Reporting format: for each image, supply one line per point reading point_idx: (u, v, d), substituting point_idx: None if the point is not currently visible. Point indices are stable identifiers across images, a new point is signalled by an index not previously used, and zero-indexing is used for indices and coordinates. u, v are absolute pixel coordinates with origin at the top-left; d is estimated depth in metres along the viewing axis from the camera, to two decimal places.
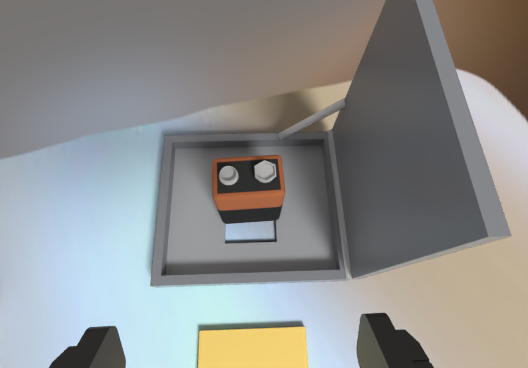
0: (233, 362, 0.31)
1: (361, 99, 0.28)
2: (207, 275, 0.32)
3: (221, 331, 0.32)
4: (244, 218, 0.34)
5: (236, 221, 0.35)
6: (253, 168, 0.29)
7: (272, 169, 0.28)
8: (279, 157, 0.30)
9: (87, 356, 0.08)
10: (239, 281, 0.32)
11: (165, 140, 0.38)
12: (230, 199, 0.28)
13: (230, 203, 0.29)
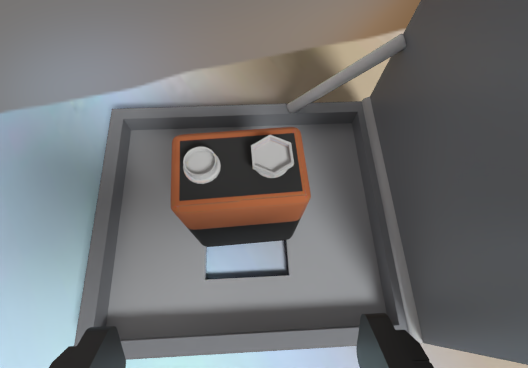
0: None
1: (456, 13, 0.14)
2: (172, 340, 0.19)
3: None
4: (235, 239, 0.21)
5: (223, 243, 0.22)
6: (249, 152, 0.15)
7: (285, 152, 0.15)
8: (297, 131, 0.16)
9: (87, 356, 0.08)
10: (228, 350, 0.19)
11: (112, 116, 0.25)
12: (206, 210, 0.14)
13: (207, 217, 0.15)
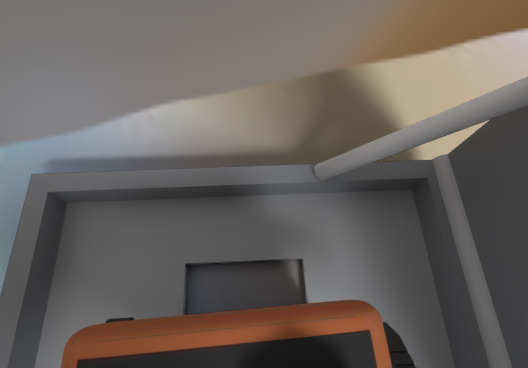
0: None
1: None
2: None
3: None
4: None
5: None
6: None
7: None
8: (375, 321, 0.06)
9: None
10: None
11: (30, 187, 0.15)
12: None
13: None
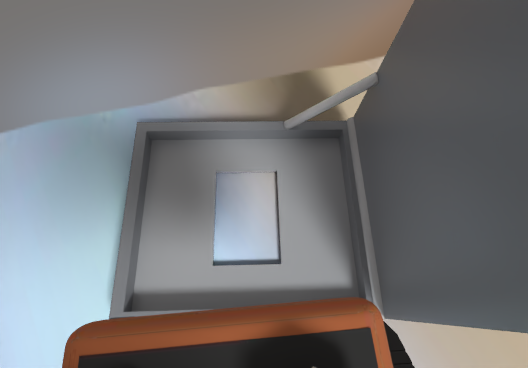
0: None
1: (409, 68, 0.19)
2: None
3: None
4: None
5: None
6: None
7: None
8: (375, 318, 0.06)
9: None
10: None
11: (137, 129, 0.30)
12: None
13: None
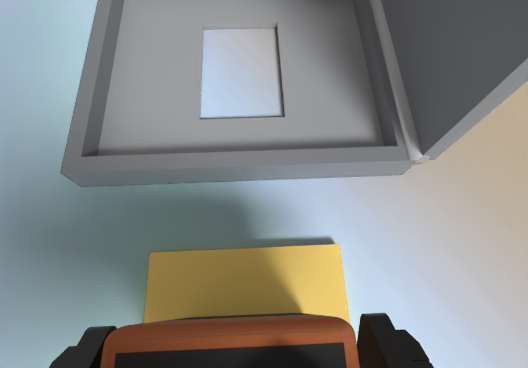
0: (210, 305, 0.17)
1: None
2: (164, 155, 0.18)
3: (189, 252, 0.18)
4: None
5: None
6: None
7: None
8: (348, 335, 0.08)
9: (87, 356, 0.08)
10: (221, 164, 0.18)
11: None
12: None
13: None
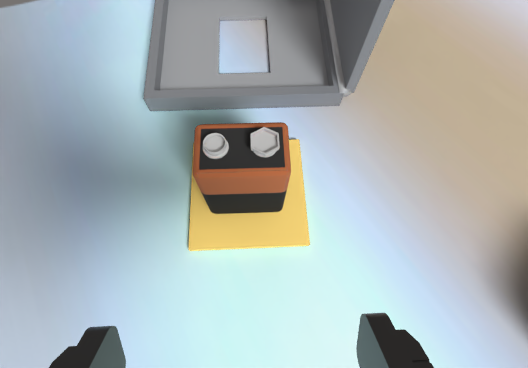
0: None
1: None
2: (200, 90, 0.32)
3: None
4: (237, 208, 0.27)
5: (227, 211, 0.28)
6: (249, 138, 0.22)
7: (274, 139, 0.21)
8: (284, 125, 0.22)
9: (87, 356, 0.08)
10: (232, 94, 0.32)
11: None
12: (217, 177, 0.21)
13: (217, 183, 0.22)
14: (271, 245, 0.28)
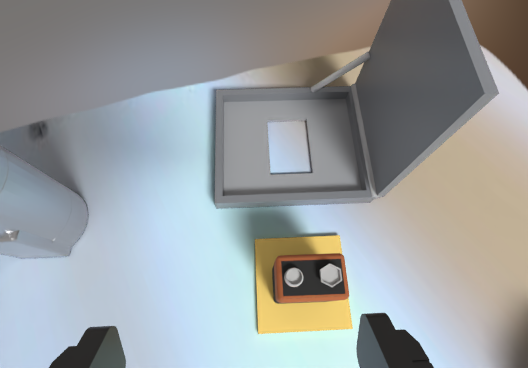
0: None
1: (385, 46, 0.36)
2: (260, 195, 0.40)
3: (272, 239, 0.40)
4: None
5: None
6: (317, 269, 0.29)
7: (337, 272, 0.29)
8: (342, 257, 0.30)
9: (87, 356, 0.08)
10: (286, 199, 0.40)
11: (217, 93, 0.46)
12: (296, 301, 0.29)
13: None
14: (322, 329, 0.36)
